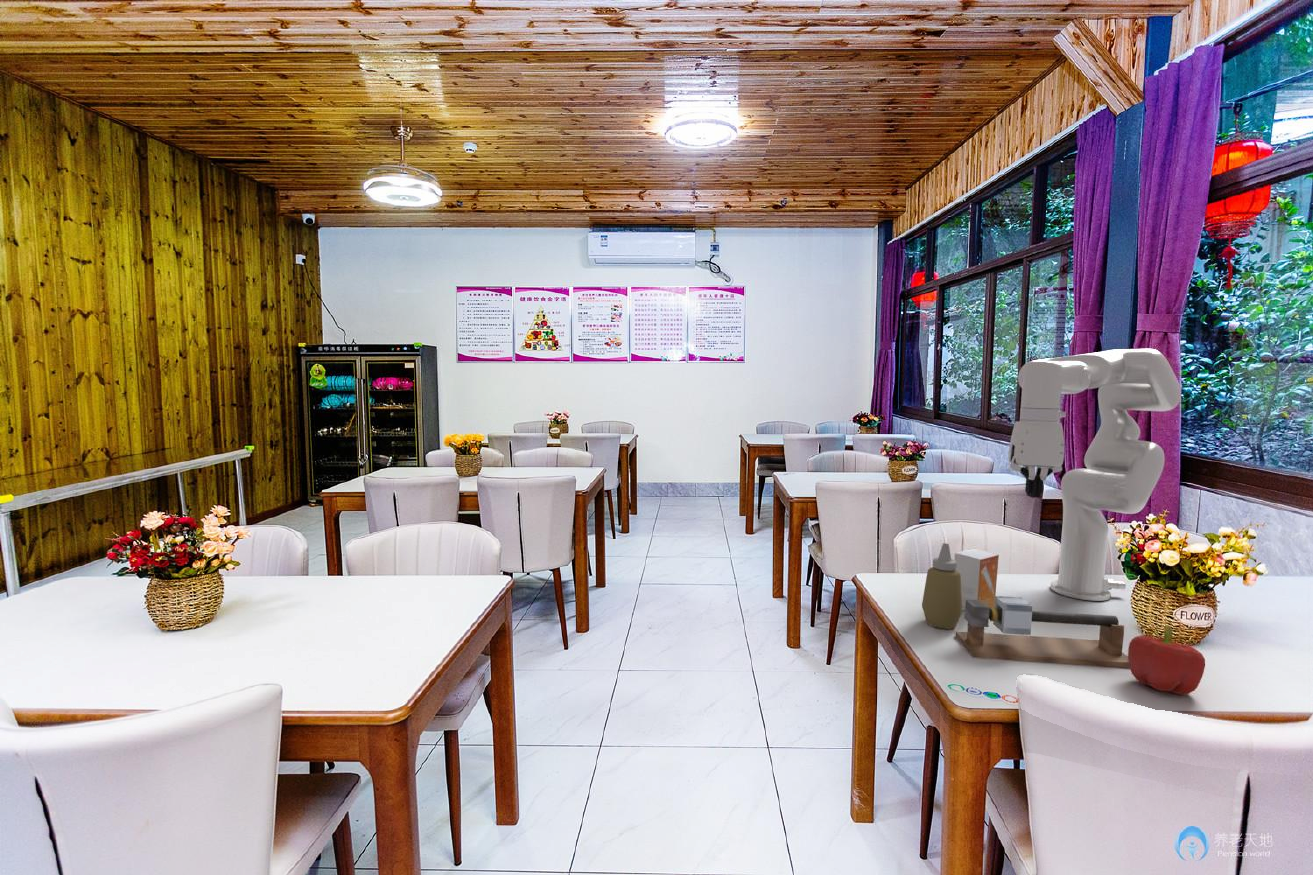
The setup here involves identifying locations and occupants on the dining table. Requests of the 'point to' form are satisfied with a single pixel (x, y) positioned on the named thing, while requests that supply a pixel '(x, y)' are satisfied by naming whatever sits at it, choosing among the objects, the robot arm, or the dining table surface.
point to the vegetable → (1165, 663)
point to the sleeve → (1014, 615)
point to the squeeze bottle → (943, 592)
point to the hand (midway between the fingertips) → (1033, 496)
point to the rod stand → (1044, 639)
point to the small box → (977, 575)
